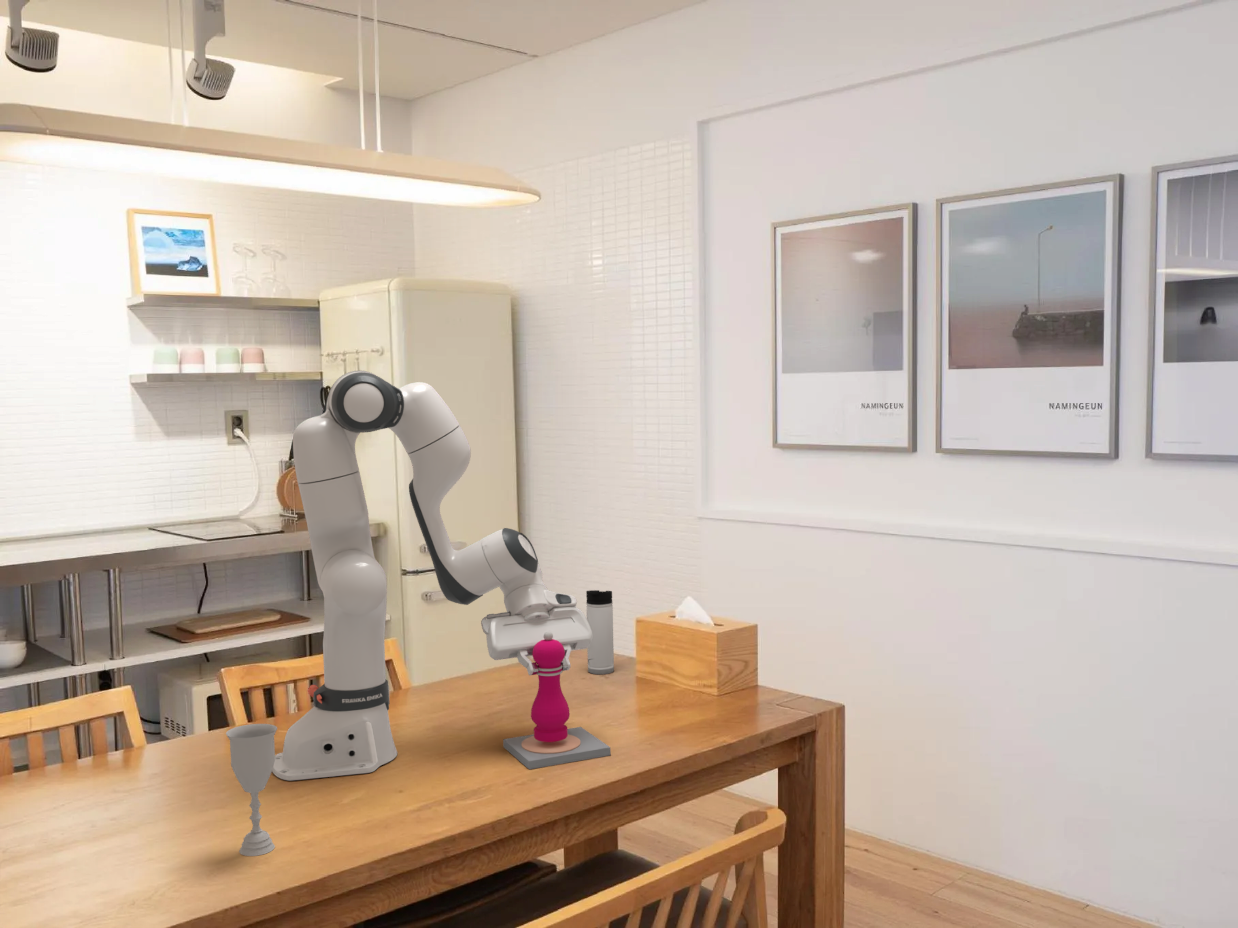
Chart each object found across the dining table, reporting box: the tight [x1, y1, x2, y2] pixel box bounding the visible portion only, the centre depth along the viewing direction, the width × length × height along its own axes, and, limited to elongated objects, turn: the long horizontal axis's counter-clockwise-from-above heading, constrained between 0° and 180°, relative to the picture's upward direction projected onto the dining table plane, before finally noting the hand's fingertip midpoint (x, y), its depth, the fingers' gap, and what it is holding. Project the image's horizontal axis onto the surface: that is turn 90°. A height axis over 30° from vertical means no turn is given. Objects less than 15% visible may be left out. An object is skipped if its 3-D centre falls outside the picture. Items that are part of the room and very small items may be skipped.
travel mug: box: [585, 589, 615, 675], centre depth 262 cm, size 6×7×20 cm
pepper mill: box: [530, 631, 571, 742], centre depth 204 cm, size 7×7×20 cm
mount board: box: [502, 726, 612, 770], centre depth 205 cm, size 16×14×2 cm
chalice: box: [225, 723, 278, 857], centre depth 163 cm, size 7×7×18 cm
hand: (550, 671), depth 203 cm, fingers closed on pepper mill, 5 cm apart
